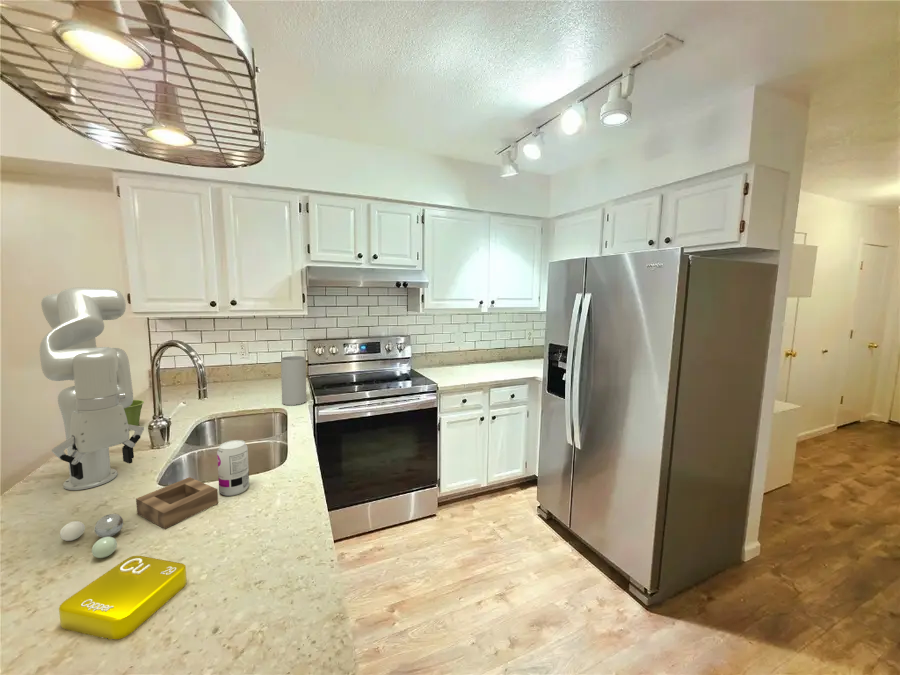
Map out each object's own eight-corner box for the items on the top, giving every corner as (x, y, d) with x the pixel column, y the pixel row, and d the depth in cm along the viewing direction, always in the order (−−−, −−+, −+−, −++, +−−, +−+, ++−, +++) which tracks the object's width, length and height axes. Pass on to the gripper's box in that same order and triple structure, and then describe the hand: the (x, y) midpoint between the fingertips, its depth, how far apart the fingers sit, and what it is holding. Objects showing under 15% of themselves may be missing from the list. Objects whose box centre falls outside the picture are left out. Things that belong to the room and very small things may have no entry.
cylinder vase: (276, 404, 206) (275, 359, 203) (292, 398, 218) (291, 355, 215) (296, 407, 202) (295, 361, 199) (311, 400, 214) (310, 357, 211)
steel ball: (91, 538, 95) (89, 518, 95) (117, 526, 100) (116, 507, 99) (101, 545, 93) (99, 524, 92) (128, 532, 98) (126, 513, 97)
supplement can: (215, 498, 114) (213, 451, 112) (223, 484, 122) (221, 440, 120) (245, 495, 116) (243, 448, 115) (251, 482, 124) (250, 438, 122)
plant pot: (130, 433, 160) (128, 408, 159) (102, 432, 161) (100, 407, 159) (152, 424, 172) (150, 400, 171) (126, 423, 172) (124, 399, 171)
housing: (137, 513, 106) (135, 498, 105) (190, 490, 118) (189, 477, 118) (164, 529, 99) (163, 513, 99) (218, 503, 112) (217, 489, 111)
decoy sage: (88, 558, 88) (87, 540, 88) (112, 547, 92) (110, 530, 92) (97, 565, 86) (96, 547, 86) (121, 553, 90) (119, 536, 90)
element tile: (54, 628, 71) (52, 605, 70) (134, 570, 85) (132, 551, 85) (121, 644, 68) (119, 620, 68) (191, 581, 83) (190, 561, 82)
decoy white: (57, 541, 94) (55, 524, 93) (80, 531, 98) (79, 515, 97) (65, 547, 92) (63, 530, 91) (88, 536, 96) (87, 520, 95)
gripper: (132, 392, 101) (137, 454, 103) (41, 409, 86) (49, 481, 88) (147, 396, 98) (152, 459, 100) (55, 414, 83) (63, 489, 85)
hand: (104, 469), depth 94 cm, fingers open, 9 cm apart
